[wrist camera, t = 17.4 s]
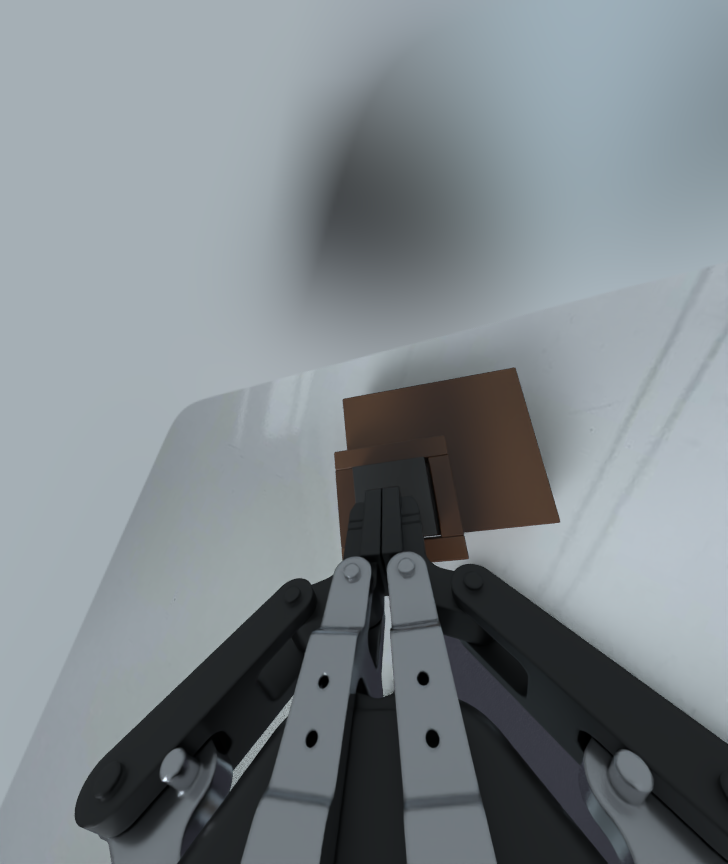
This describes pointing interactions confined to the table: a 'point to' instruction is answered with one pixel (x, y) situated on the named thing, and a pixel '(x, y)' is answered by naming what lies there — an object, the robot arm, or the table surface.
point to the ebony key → (401, 474)
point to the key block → (453, 455)
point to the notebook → (526, 739)
